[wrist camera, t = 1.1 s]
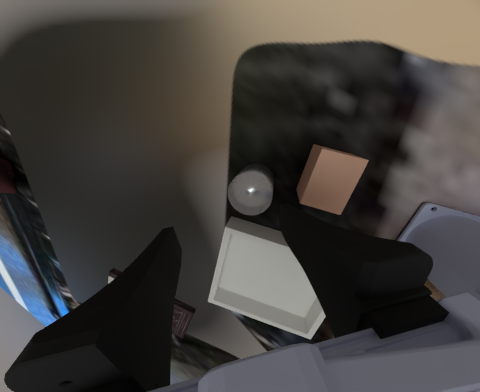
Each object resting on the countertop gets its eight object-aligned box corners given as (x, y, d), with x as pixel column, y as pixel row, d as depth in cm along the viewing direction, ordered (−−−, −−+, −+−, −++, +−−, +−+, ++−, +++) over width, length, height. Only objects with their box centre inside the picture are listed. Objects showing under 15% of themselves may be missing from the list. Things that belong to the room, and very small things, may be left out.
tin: (278, 168, 22) (278, 180, 17) (268, 200, 23) (265, 220, 18) (243, 158, 22) (233, 167, 17) (235, 190, 24) (224, 207, 19)
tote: (347, 252, 24) (356, 268, 21) (307, 319, 29) (310, 339, 26) (231, 215, 25) (225, 226, 22) (214, 285, 31) (207, 301, 28)
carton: (350, 153, 20) (368, 160, 15) (328, 198, 22) (340, 215, 18) (313, 144, 20) (322, 148, 16) (296, 189, 22) (299, 203, 18)
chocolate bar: (182, 338, 37) (106, 299, 38) (184, 333, 38) (110, 295, 39) (194, 313, 34) (109, 271, 34) (196, 308, 34) (113, 267, 35)
